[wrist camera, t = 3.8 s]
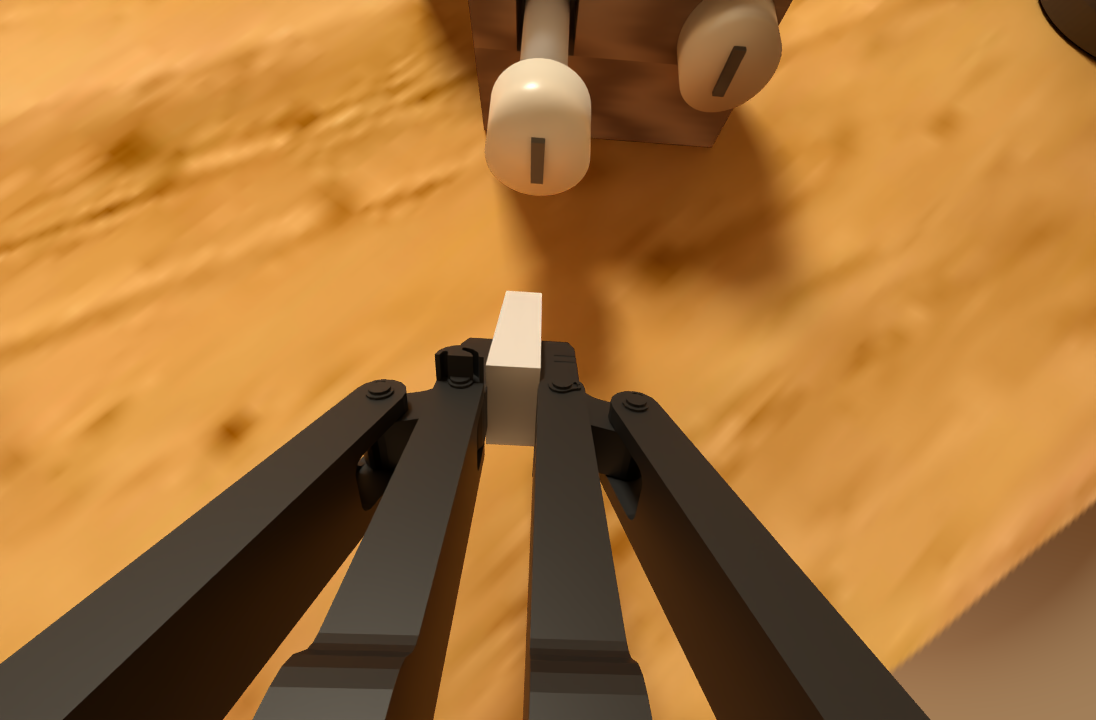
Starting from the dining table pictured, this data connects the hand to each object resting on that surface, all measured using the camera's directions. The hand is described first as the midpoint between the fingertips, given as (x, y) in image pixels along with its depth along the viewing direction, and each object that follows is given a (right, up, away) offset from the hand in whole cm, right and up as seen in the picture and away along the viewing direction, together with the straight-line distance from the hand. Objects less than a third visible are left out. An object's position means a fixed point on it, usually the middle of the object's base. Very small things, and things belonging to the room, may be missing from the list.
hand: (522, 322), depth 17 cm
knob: (+1, +14, +6) cm, 15 cm away
